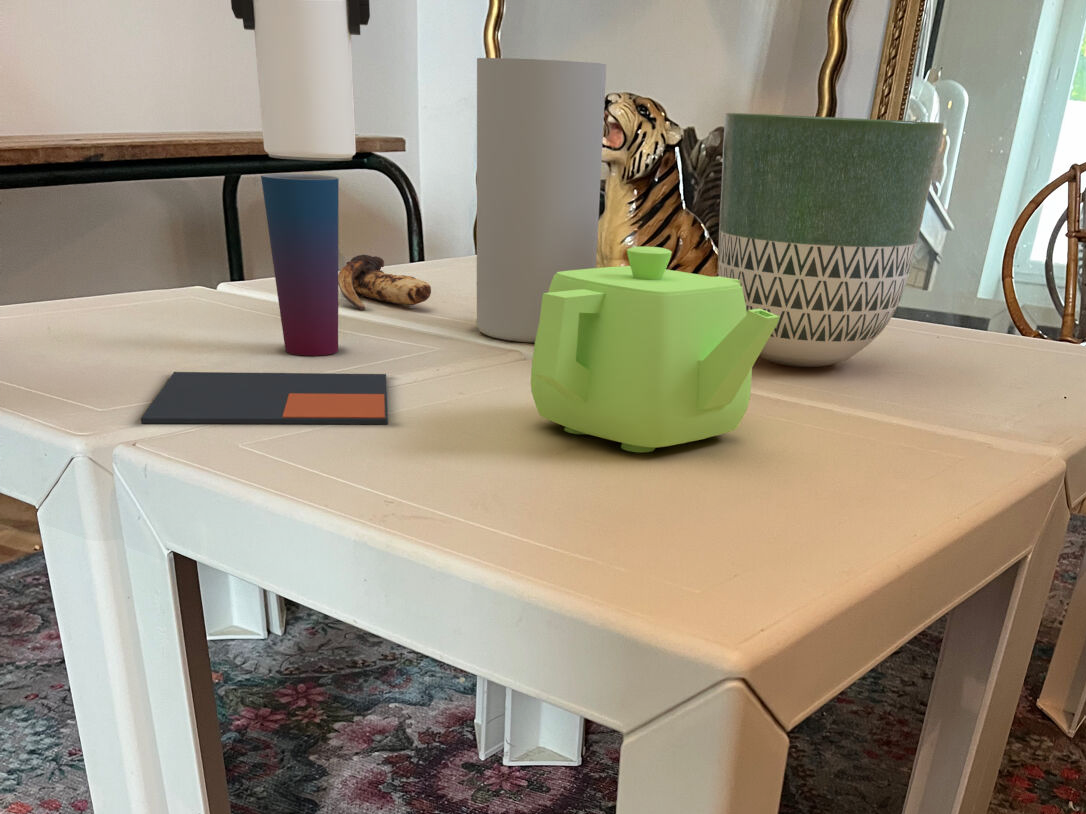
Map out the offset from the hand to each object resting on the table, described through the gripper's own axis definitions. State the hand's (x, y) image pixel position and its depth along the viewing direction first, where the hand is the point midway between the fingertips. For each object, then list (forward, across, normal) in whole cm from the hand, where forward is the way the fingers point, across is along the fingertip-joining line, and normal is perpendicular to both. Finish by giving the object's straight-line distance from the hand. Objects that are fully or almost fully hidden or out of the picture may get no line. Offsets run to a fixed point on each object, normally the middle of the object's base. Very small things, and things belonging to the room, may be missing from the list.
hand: (302, 31), depth 77 cm
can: (+8, 0, 0) cm, 8 cm away
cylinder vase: (+25, -21, -33) cm, 47 cm away
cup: (+25, +2, -22) cm, 34 cm away
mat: (+25, +4, -2) cm, 26 cm away
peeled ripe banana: (+25, -4, -52) cm, 58 cm away
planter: (+25, -46, -19) cm, 56 cm away
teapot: (+25, -25, +10) cm, 37 cm away
